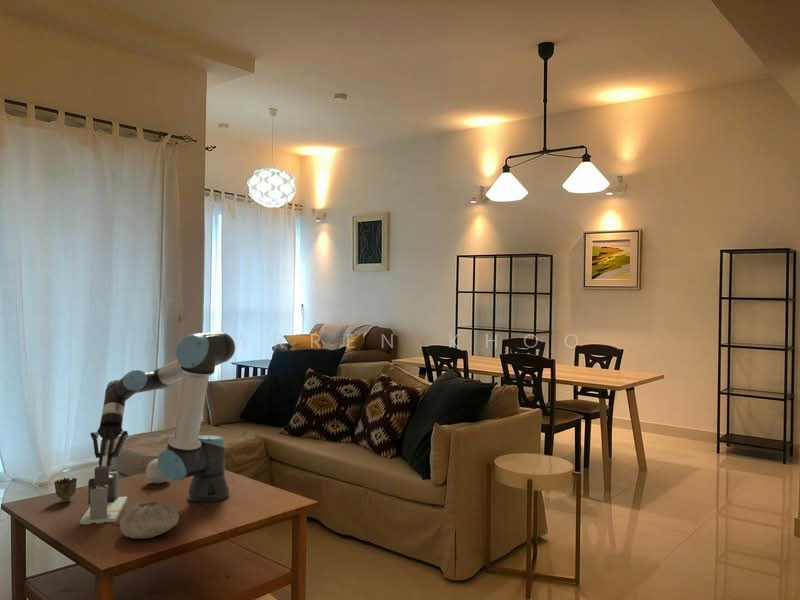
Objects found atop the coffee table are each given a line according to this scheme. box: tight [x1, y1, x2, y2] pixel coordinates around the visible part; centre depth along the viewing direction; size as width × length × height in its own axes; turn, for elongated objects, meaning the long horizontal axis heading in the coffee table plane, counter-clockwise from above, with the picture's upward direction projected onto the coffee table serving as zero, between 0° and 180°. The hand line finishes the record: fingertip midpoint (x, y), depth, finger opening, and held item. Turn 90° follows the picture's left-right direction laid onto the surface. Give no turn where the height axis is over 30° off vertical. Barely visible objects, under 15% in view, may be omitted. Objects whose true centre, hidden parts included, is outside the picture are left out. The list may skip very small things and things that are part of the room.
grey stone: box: [119, 500, 180, 540], centre depth 207 cm, size 18×18×10 cm
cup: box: [53, 477, 78, 504], centre depth 239 cm, size 8×7×8 cm
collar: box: [87, 466, 115, 505], centre depth 223 cm, size 3×8×12 cm, turn 104°
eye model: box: [145, 458, 168, 484], centre depth 262 cm, size 10×10×10 cm
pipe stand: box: [79, 471, 128, 525], centre depth 228 cm, size 24×11×11 cm, turn 14°
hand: (103, 473), depth 226 cm, fingers closed
